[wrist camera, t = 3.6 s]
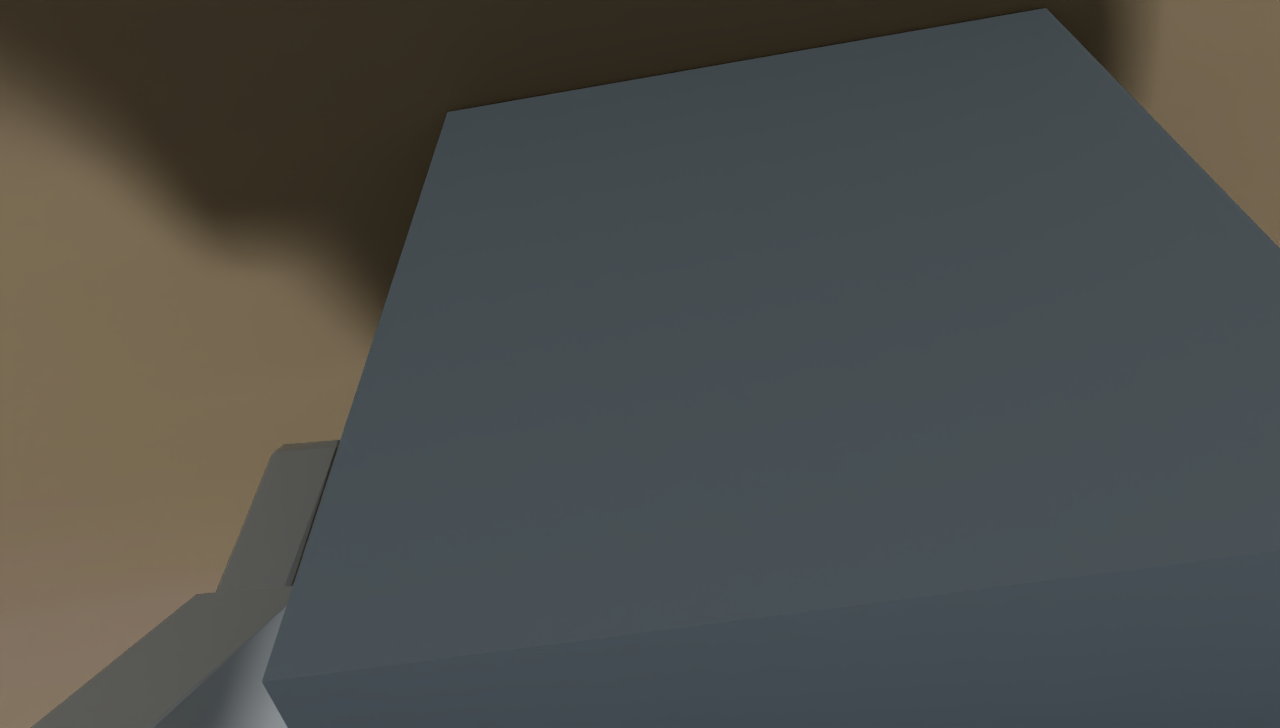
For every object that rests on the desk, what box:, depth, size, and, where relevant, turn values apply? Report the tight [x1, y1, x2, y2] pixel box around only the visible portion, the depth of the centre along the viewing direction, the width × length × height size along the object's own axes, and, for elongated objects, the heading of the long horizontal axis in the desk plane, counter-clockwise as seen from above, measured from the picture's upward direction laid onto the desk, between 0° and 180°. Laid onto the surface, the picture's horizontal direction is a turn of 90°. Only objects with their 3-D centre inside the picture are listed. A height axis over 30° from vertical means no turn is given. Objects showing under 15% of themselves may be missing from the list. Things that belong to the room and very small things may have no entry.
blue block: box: [262, 8, 1280, 728], centre depth 8 cm, size 5×5×6 cm
